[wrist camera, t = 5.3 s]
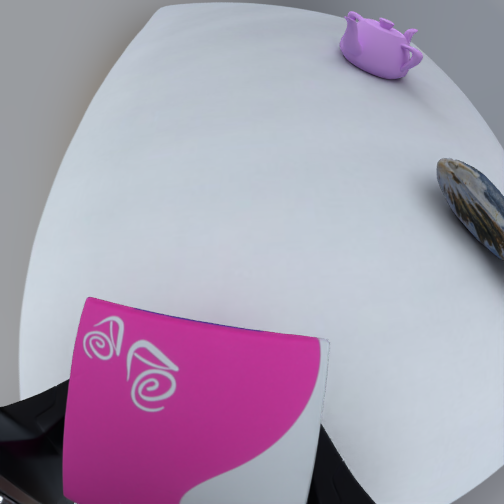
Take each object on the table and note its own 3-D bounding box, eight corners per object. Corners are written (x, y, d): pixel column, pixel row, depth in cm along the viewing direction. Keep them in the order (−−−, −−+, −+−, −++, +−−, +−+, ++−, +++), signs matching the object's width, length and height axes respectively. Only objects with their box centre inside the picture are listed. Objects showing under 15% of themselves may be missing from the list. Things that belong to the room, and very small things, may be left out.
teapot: (402, 65, 35) (418, 28, 27) (408, 98, 29) (431, 51, 21) (340, 40, 36) (351, 1, 28) (330, 65, 30) (344, 13, 22)
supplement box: (270, 357, 16) (344, 336, 5) (257, 447, 13) (297, 561, 3) (175, 341, 16) (79, 289, 5) (161, 430, 13) (59, 506, 3)
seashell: (446, 303, 18) (488, 284, 13) (409, 175, 23) (433, 141, 18) (523, 286, 19) (552, 270, 14) (491, 191, 24) (514, 170, 19)
